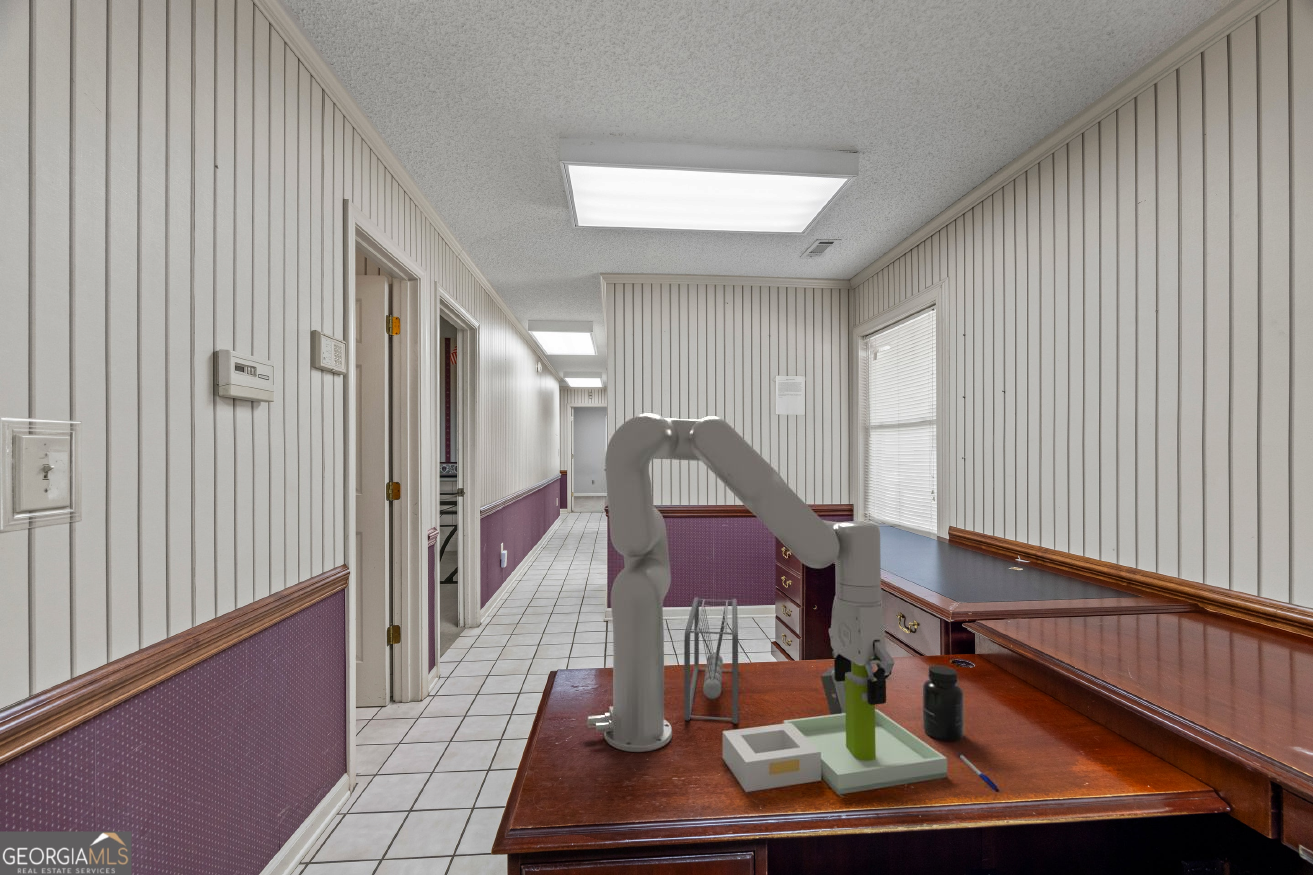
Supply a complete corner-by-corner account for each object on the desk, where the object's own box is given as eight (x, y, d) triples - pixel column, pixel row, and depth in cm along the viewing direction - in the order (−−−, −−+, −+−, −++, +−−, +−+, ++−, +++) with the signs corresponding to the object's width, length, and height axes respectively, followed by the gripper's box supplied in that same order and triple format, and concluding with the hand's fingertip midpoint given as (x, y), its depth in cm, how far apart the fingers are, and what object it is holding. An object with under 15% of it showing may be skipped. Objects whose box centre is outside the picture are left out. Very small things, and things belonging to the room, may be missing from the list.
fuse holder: (746, 792, 84) (746, 762, 84) (722, 757, 94) (722, 731, 94) (822, 781, 87) (821, 752, 88) (791, 748, 97) (790, 722, 98)
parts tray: (838, 794, 84) (837, 774, 84) (783, 737, 101) (783, 720, 101) (947, 776, 89) (946, 757, 89) (876, 724, 106) (876, 709, 106)
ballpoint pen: (1000, 792, 85) (1000, 786, 85) (995, 792, 85) (995, 786, 85) (960, 756, 96) (960, 750, 96) (955, 756, 96) (955, 750, 96)
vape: (857, 761, 92) (855, 641, 92) (843, 743, 98) (842, 630, 98) (879, 761, 92) (877, 640, 93) (863, 742, 98) (862, 629, 99)
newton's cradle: (694, 667, 136) (694, 594, 137) (736, 669, 134) (736, 596, 135) (683, 724, 106) (684, 632, 107) (738, 728, 105) (738, 634, 106)
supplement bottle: (918, 734, 103) (917, 669, 103) (929, 721, 108) (928, 659, 108) (958, 747, 98) (957, 679, 99) (968, 733, 103) (967, 669, 104)
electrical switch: (848, 723, 107) (843, 673, 108) (822, 717, 110) (818, 670, 111) (864, 706, 114) (859, 660, 115) (839, 702, 118) (835, 657, 119)
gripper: (813, 582, 104) (813, 674, 103) (870, 606, 87) (871, 716, 86) (848, 581, 106) (849, 671, 105) (910, 603, 89) (911, 711, 88)
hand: (859, 691), depth 96 cm, fingers open, 9 cm apart
